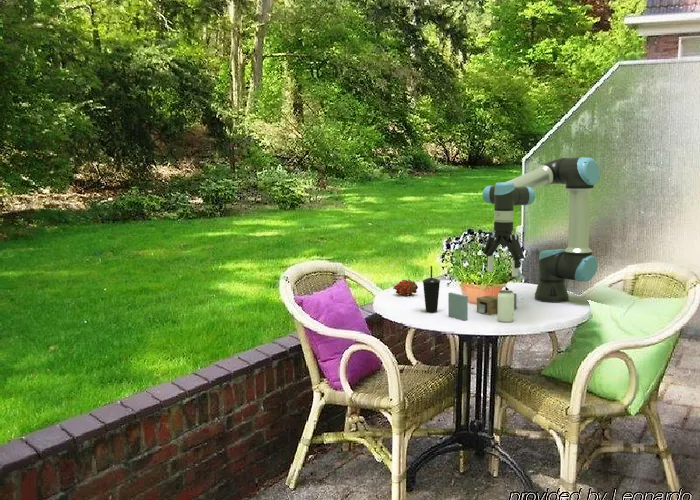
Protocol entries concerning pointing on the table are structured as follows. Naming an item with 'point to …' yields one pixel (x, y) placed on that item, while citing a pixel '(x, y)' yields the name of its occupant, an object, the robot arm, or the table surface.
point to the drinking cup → (431, 293)
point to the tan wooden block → (489, 304)
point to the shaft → (483, 306)
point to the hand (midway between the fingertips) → (502, 274)
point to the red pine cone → (406, 287)
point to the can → (505, 306)
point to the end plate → (458, 306)
